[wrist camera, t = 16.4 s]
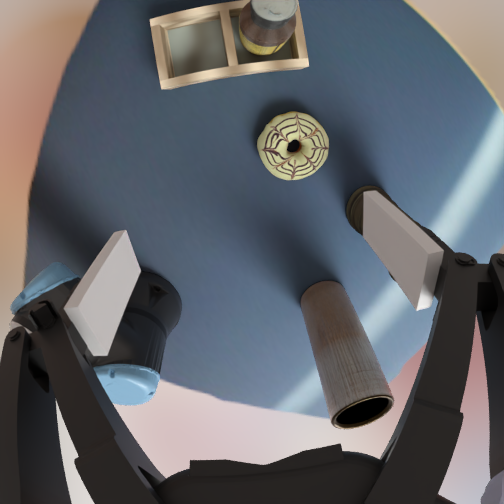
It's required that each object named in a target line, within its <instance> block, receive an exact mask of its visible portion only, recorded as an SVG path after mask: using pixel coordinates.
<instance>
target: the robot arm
mask: <svg viewBox="0 0 504 504" xmlns="http://www.w3.org/2000/svg"><path fill="white" fill-rule="evenodd" d="M363 237H364V239H365V240H366V241H367V243H368V244H369V245H370V247H371V248H372V249H373V250H374V252H375V253H376V254H377V256H378V257H379V258H380V260H381V261H382V263H383V264H384V265H385V267H386V268H387V269H388V271H389V272H390V273H391V275H392V276H393V278H394V279H395V280H396V282H397V283H398V285H399V286H400V288H401V289H402V290H403V292H404V293H405V295H406V296H407V298H408V299H409V301H410V302H411V304H412V305H413V306H414V308H415V309H416V311H417V310H421V309H424V308H428V307H431V304H432V300H433V297H434V296H435V297H436V298H437V300H438V305H437V308H436V311H435V315H434V318H433V324H432V328H431V331H430V335H429V339H428V342H427V345H426V349H425V352H424V355H423V358H422V361H421V364H420V367H419V370H418V373H417V376H416V379H415V382H414V385H413V387H412V390H411V393H410V395H409V398H408V400H407V403H406V405H405V408H404V410H403V413H402V415H401V417H400V420H399V422H398V424H397V426H396V429H395V431H394V433H393V435H392V437H391V439H390V441H389V443H388V445H387V447H386V449H385V451H384V452H383V454H382V456H381V458H380V459H377V458H375V457H373V456H370V455H367V454H363V453H358V452H350V451H342V448H341V444H336V445H331V446H327V447H322V448H316V449H311V450H306V451H302V452H300V453H298V454H295V455H292V456H289V457H287V458H284V459H281V460H279V461H276V462H273V463H270V464H267V465H258V464H251V463H244V462H237V461H231V460H190V469H186V470H183V471H181V472H178V473H176V474H174V475H171V476H170V477H168V478H167V479H166V478H165V477H164V476H163V475H162V474H161V473H160V472H159V471H158V470H157V469H156V467H155V466H154V465H153V464H152V462H151V461H150V459H149V458H148V457H147V455H146V454H145V453H144V451H143V450H142V448H141V447H140V446H139V444H138V443H137V441H136V440H135V438H134V437H133V435H132V434H131V432H130V431H129V429H128V428H127V426H126V425H125V423H124V421H123V420H122V418H121V417H120V415H119V413H118V412H117V410H116V409H115V407H114V405H113V403H114V404H119V405H139V404H143V403H145V402H148V401H149V400H151V399H152V398H153V396H154V394H155V392H156V388H157V385H158V382H159V380H160V370H161V365H162V360H163V354H164V349H165V344H166V339H167V337H168V335H169V334H170V333H171V331H172V330H173V329H174V327H175V326H176V325H177V323H178V321H179V319H180V315H181V310H182V302H181V299H180V296H179V294H178V292H177V291H176V289H175V288H174V287H173V286H172V285H171V284H170V283H169V282H168V281H166V280H165V279H163V278H161V277H159V276H157V275H155V274H152V273H148V272H141V269H140V267H139V264H138V262H137V259H136V256H135V254H134V251H133V248H132V245H131V243H130V240H129V237H128V234H127V231H126V230H122V231H118V232H114V233H113V235H112V236H111V237H110V239H109V240H108V242H107V243H106V244H105V246H104V247H103V249H102V250H101V251H100V253H99V254H98V256H97V257H96V259H95V260H94V262H93V263H92V265H91V266H90V268H89V269H88V271H87V272H86V274H85V275H84V277H83V278H82V279H80V276H79V275H76V274H74V273H73V272H72V271H71V270H70V269H69V268H68V267H67V266H65V265H64V264H63V263H61V262H54V263H52V264H50V265H49V266H47V267H46V268H45V269H44V270H43V271H41V272H40V273H39V274H38V275H37V276H36V277H35V278H34V279H33V280H32V281H31V282H30V283H29V284H28V285H27V286H26V287H25V288H24V290H23V291H22V292H21V293H20V294H19V296H17V297H16V299H15V300H14V301H13V303H12V304H11V306H10V309H11V311H12V314H14V315H15V316H14V318H13V319H12V321H11V322H10V324H9V326H10V332H9V333H8V335H7V336H6V339H5V342H4V346H3V351H2V356H1V357H0V504H72V503H71V499H70V495H69V491H68V486H67V482H66V477H65V472H64V466H63V461H62V455H61V448H60V441H59V433H58V423H57V414H56V401H57V403H58V406H59V409H60V411H61V414H62V417H63V420H64V422H65V425H66V427H67V430H68V432H69V435H70V437H71V440H72V442H73V444H74V446H75V449H76V451H77V453H78V456H79V457H78V458H76V459H75V461H74V462H75V465H76V469H77V471H78V473H79V475H80V477H81V479H82V481H83V483H84V485H85V487H86V489H87V491H88V492H89V494H90V496H91V498H92V500H93V502H94V503H95V504H455V503H454V502H452V501H450V500H448V499H446V498H444V497H442V496H440V495H439V494H438V492H439V489H440V487H441V485H442V482H443V480H444V477H445V475H446V472H447V469H448V467H449V464H450V461H451V458H452V455H453V452H454V449H455V446H456V443H457V439H458V436H459V433H460V430H461V426H462V422H463V413H461V412H460V408H461V403H462V399H463V394H464V390H465V386H466V381H467V376H468V370H469V364H470V358H471V352H472V345H473V336H474V328H475V317H476V315H477V320H478V324H479V329H480V334H481V340H482V346H483V353H484V360H485V368H486V376H487V386H488V399H489V417H490V418H489V420H490V448H489V450H490V451H489V456H490V458H489V459H490V462H489V463H490V464H489V465H490V478H491V480H490V481H489V483H488V485H487V486H486V489H485V492H484V494H483V496H482V497H481V504H504V254H499V253H497V254H493V255H492V256H491V258H490V262H489V264H477V261H476V260H475V259H474V258H473V257H472V256H470V255H468V254H465V253H460V252H458V253H455V252H454V251H453V250H452V249H451V248H449V247H448V246H447V245H446V244H445V243H444V242H443V241H441V239H440V238H439V237H438V236H437V237H436V235H435V234H434V233H433V232H432V231H431V230H429V229H427V228H425V227H423V226H417V225H416V224H415V223H414V222H413V221H412V220H410V219H409V218H408V217H407V216H406V215H405V214H404V213H402V212H401V211H400V210H399V209H398V208H397V207H395V206H394V205H393V204H392V203H391V202H389V201H388V200H387V199H386V198H385V197H383V196H382V195H381V194H380V193H378V192H377V191H367V192H364V205H363Z"/></svg>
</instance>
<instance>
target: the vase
mask: <svg viewBox="0 0 504 504" xmlns="http://www.w3.org/2000/svg"><path fill="white" fill-rule="evenodd" d="M301 309H302V313H303V317H304V321H305V324H306V328H307V331H308V335H309V339H310V343H311V346H312V350H313V354H314V357H315V361H316V365H317V369H318V373H319V377H320V380H321V384H322V388H323V392H324V396H325V400H326V404H327V408H328V412H329V416H330V420H331V423H332V425H333V426H334V427H336V428H339V429H353V428H358V427H362V426H365V425H367V424H370V423H372V422H374V421H376V420H377V419H379V418H381V417H383V416H384V415H385V414H386V413H387V412H388V411H389V410H390V409H391V408H392V406H393V404H394V398H393V395H392V393H391V390H390V388H389V385H388V383H387V381H386V378H385V376H384V374H383V371H382V369H381V367H380V364H379V362H378V360H377V357H376V355H375V353H374V351H373V348H372V346H371V344H370V342H369V339H368V337H367V335H366V333H365V331H364V328H363V326H362V324H361V322H360V320H359V318H358V316H357V313H356V311H355V309H354V307H353V305H352V303H351V301H350V299H349V297H348V295H347V293H346V291H345V289H344V288H343V286H342V285H341V284H339V283H337V282H334V281H321V282H318V283H316V284H314V285H312V286H311V287H309V288H308V289H307V290H306V291H305V292H304V294H303V295H302V298H301Z"/></svg>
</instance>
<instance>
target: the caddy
mask: <svg viewBox="0 0 504 504" xmlns="http://www.w3.org/2000/svg"><path fill="white" fill-rule="evenodd" d="M297 1H298V0H297ZM248 2H250V0H241V1H233V2H226V3H220V4H214V5H208V6H203V7H198V8H193V9H188V10H184V11H179V12H175V13H171V14H167V15H164V16H160V17H156V18H153V19H150V25H151V31H152V38H153V44H154V50H155V56H156V62H157V68H158V73H159V79H160V84H161V89H174V88H178V87H182V86H187V85H191V84H196V83H201V82H206V81H211V80H216V79H222V78H228V77H234V76H241V75H248V74H255V73H263V72H273V71H283V70H296V69H303V68H306V67H309V62H308V55H307V49H306V43H305V37H304V31H303V25H302V19H301V14H300V9H299V4H298V7H297V11H296V12H295V15H296V27H295V30H294V32H293V33H292V35H291V37H290V38H289V39H288V40H287V41H286V42H285V43H284V45H283V46H282V47H281V48H280V49H279V50H278V51H276V52H275V53H273V54H270V55H265V56H258V55H254V54H252V53H250V52H249V51H247V50H246V49H245V48H244V46H243V45H242V43H241V40H240V32H239V17H240V13H241V11H242V9H243V7H244V6H245V5H246V4H247V3H248Z"/></svg>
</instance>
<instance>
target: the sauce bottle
mask: <svg viewBox="0 0 504 504" xmlns="http://www.w3.org/2000/svg"><path fill="white" fill-rule="evenodd" d="M297 7H298V1H297V0H250V2H248V3H247V4H246V5H245V6H244V7H243V9H242V11H241V13H240V17H239V32H240V40H241V43H242V45H243V46H244V48H245V49H246V50H247V51H249V52H250V53H252V54H254V55H258V56H265V55H270V54H273V53H275V52H276V51H278V50H279V49H280V48H281V47H282V46H283V45H284V43H285V42H286V41H287V40H288V39H289V38H290V37H291V35H292V33H293V32H294V30H295V27H296V15H295V12H296V11H297Z"/></svg>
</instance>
